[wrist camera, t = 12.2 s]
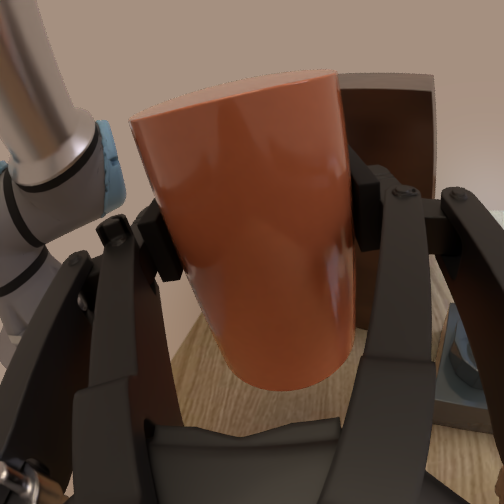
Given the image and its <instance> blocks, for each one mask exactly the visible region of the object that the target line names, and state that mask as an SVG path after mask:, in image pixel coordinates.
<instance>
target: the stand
mask: <svg viewBox="0 0 504 504" xmlns="http://www.w3.org/2000/svg"><path fill="white" fill-rule="evenodd" d="M338 78H339V84H340V90H341V97H342V103H343V110H344V118H345V125H346V133H347V142H348V144H349V146H350V147H351V148H352V149H353V150H354V151H355V152H356V154H357V155H358V156H359V157H360V158H361V159H362V161H363V162H364V163H365V164H366V165H367V166H369V165H381V166H383V167H385V168H387V169H388V170H389V171H390V172H391V174H393V176H394V177H395V178H396V179H397V180H398V181H399V182H400V183H401V184H402V185H408V186H412V187H415V188H416V189H418V190H419V191H420V193H421V198H425V199H435V184H436V159H437V130H436V102H435V87H434V76H433V75H427V74H409V73H408V74H407V73H406V74H405V73H349V74H348V73H347V74H338ZM379 252H380V249H379V250H373V251H367V252H361V250H360V248H359V245H358V243H357V241H356V238H355V260H356V322H355V327H356V328H361V329H365V330H368V327H369V322H370V316H371V310H372V304H373V297H374V291H375V284H376V276H377V269H378V260H379ZM428 255H429V254H428Z"/></svg>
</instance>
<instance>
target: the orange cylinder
mask: <svg viewBox="0 0 504 504" xmlns="http://www.w3.org/2000/svg"><path fill="white" fill-rule="evenodd" d="M128 122H129V125H130V128H131V131H132V134H133V137H134V140H135V143H136V146H137V149H138V152H139V155H140V157H141V160H142V163H143V166H144V169H145V172H146V174H147V177H148V180H149V183H150V185H151V188H152V191H153V193H154V196H155V199H156V201H157V204H158V207H159V209H160V212H161V215H162V217H163V220H164V222H165V225H166V227H167V230H168V232H169V235H170V237H171V240H172V242H173V245H174V247H175V250H176V252H177V254H178V257H179V259H180V262H181V264H182V266H183V269H184V271H185V274H186V276H187V278H188V281H189V283H190V285H191V287H192V290H193V292H194V294H195V297H196V299H197V301H198V303H199V305H200V308H201V310H202V312H203V315H204V317H205V319H206V321H207V323H208V326H209V328H210V330H211V332H212V334H213V336H214V338H215V341H216V343H217V345H218V347H219V349H220V351H221V353H222V355H223V357H224V359H225V361H226V363H227V365H228V367H229V368H230V370H231V371H232V372H233V373H234V374H235V375H236V376H237V377H238V378H240V379H241V380H242V381H244V382H246V383H248V384H250V385H252V386H254V387H257V388H260V389H265V390H270V391H292V390H298V389H303V388H306V387H309V386H312V385H314V384H317V383H319V382H321V381H322V380H324V379H326V378H328V377H329V376H330V375H332V374H333V373H334V372H335V371H336V370H337V369H338V368H339V367H340V366H341V365H342V364H343V363H344V362H345V360H346V359H347V357H348V356H349V354H350V352H351V350H352V347H353V344H354V340H355V322H356V260H355V231H354V211H353V196H352V183H351V171H350V161H349V151H348V142H347V133H346V125H345V118H344V110H343V103H342V97H341V90H340V84H339V78H338V73H337V71H335V70H326V69H317V70H301V71H290V72H283V73H275V74H269V75H262V76H257V77H251V78H246V79H241V80H237V81H233V82H228V83H224V84H220V85H216V86H212V87H208V88H205V89H201V90H198V91H194V92H191V93H188V94H185V95H182V96H179V97H176V98H173V99H170V100H168V101H165V102H162V103H160V104H157V105H155V106H152V107H150V108H148V109H145V110H143V111H141V112H139V113H137V114H135V115H133V116H132V117H130V119H129V120H128Z"/></svg>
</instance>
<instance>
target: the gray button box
mask: <svg viewBox="0 0 504 504" xmlns="http://www.w3.org/2000/svg"><path fill="white" fill-rule="evenodd" d="M435 364H436V389H435V402H434V412H433V421H432V423H434V424H439V425H443V426H449V427H454V428H459V429H465V430H471V431H477V432H483V433H490V434H493V430H492V426H491V421H490V416H489V411H488V407H487V403H486V399H485V395H484V391H483V387H482V383H481V380H480V376H479V372H478V369H477V366H476V362H475V359H474V356H473V353H472V350H471V346H470V343H469V340H468V338H467V335H466V332H465V329H464V326H463V323H462V321H461V318H460V315H459V313H458V310H457V307H456V305H455V303H450V304H449V308H448V311H447V315H446V318H445V321H444V324H443V328H442V331H441V336H440V341H439V346H438V351H437V356H436V361H435Z"/></svg>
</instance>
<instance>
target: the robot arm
mask: <svg viewBox="0 0 504 504" xmlns="http://www.w3.org/2000/svg"><path fill="white" fill-rule="evenodd" d="M0 139H1V140H2V142H3V143H4V145H5V146H6V148H7V149H8V150H9V152H10V153H11V154H10V157H9V161H8V164H7V163H6V162H5V161H0V318H1V320H2V323H3V325H4V328H5V330H6V333H7V335H8V337H9V339H10V341H11V343H14V344H15V346H16V347H17V348H16V350H15V352H14V355H13V357H12V359H11V361H10V363H9V366H8V368H7V370H6V373H5V375H4V377H3V380H2V382H1V385H0V504H470V503H468V502H467V501H466V500H464V499H463V498H461V497H460V496H459V495H457V494H456V493H455V492H453V491H452V490H451V489H449V488H448V487H447V486H445V485H444V484H443V483H441V482H440V481H439V480H437V479H436V478H435V477H433V476H432V475H431V474H429V473H428V472H427V471H426V470H425V467H426V462H427V456H428V450H429V444H430V437H431V430H432V421H433V412H434V402H435V389H436V364H435V362H432V361H431V341H432V310H431V283H430V267H429V255H428V254H435V258H436V260H437V263H438V265H439V267H440V269H441V271H442V274H443V276H444V278H445V281H446V283H447V285H448V288H449V290H450V292H451V295H452V297H453V300H454V302H455V305H456V307H457V310H458V313H459V315H460V318H461V321H462V323H463V326H464V329H465V332H466V335H467V338H468V340H469V343H470V346H471V350H472V353H473V356H474V359H475V362H476V366H477V369H478V372H479V376H480V380H481V383H482V387H483V391H484V395H485V399H486V403H487V407H488V411H489V416H490V421H491V426H492V430H493V434H494V438H495V442H496V446H497V449H498V452H499V455H500V458H501V461H502V463H503V466H502V468H501V469H500V472H499V475H498V480H497V483H496V485H495V493H496V495H497V496H498V497H499V504H504V230H503V228H502V227H501V226H500V225H499V223H498V222H497V221H496V220H495V218H494V217H493V216H492V215H491V214H490V212H489V211H488V210H487V209H486V208H485V206H484V205H483V204H482V203H481V202H480V201H479V200H478V198H477V197H476V196H475V195H474V194H473V193H472V192H470V191H468V190H466V189H465V188H460V187H449V188H446V189H443V190H442V192H441V200H438V199H437V200H436V199H425V198H421V193H420V191H419V190H418V189H416V188H415V187H412V186H408V185H402V184H401V183H400V182H399V181H398V180H397V179H396V178H395V177H394V176H393V174H391V172H390V171H389V170H388V169H387V168H385V167H383V166H381V165H369V166H367V165H366V164H365V163H364V162H363V161H362V159H361V158H360V157H359V156H358V155H357V154H356V152H355V151H354V150H353V149H352V148H351V147H350V146H349V144H348V151H349V161H350V171H351V183H352V196H353V211H354V231H355V238H356V241H357V243H358V245H359V248H360V250H361V252H367V251H373V250H379V249H380V252H379V260H378V269H377V276H376V284H375V291H374V297H373V304H372V310H371V316H370V322H369V327H368V333H367V338H366V343H365V348H364V353H363V356H361V358H360V362H359V366H358V370H357V374H356V378H355V382H354V386H353V390H352V394H351V398H350V402H349V406H348V410H347V413H346V417H345V420H344V424H343V427H342V428H341V425H340V417H336V418H329V419H322V420H314V421H306V422H297V423H290V424H287V425H284V426H280V427H277V428H274V429H271V430H267V431H264V432H260V433H257V434H253V435H250V436H246V437H235V436H230V435H226V434H222V433H218V432H213V431H210V430H206V429H202V428H198V427H184V425H183V421H182V417H181V413H180V408H179V403H178V399H177V394H176V389H175V384H174V379H173V374H172V368H171V363H170V358H169V352H168V347H167V340H166V334H165V327H164V321H163V315H162V308H161V300H160V292H159V286H158V285H157V282H156V280H155V276H156V274H157V271H158V273H159V275H160V277H161V279H162V281H163V282H168V281H176V280H180V278H181V275H182V272H183V266H182V264H181V262H180V259H179V257H178V254H177V252H176V250H175V247H174V245H173V242H172V240H171V237H170V235H169V232H168V230H167V227H166V225H165V222H164V220H163V217H162V215H161V212H160V209H159V207H158V204H157V201H156V199H155V198H154V200H153V201H152V203H151V204H150V205H149V206H148V207H146V208H145V209H144V210H143V211H141V212H140V213H139V215H138V216H137V217H136V220H134V222H133V224H132V225H131V226H130V225H129V223H128V220H127V218H126V216H125V215H124V214H119V215H115V216H112V217H110V218H108V219H106V220H105V221H103V222H102V223H100V224H99V225H98V226H97V228H96V232H97V233H98V236H99V237H100V239H101V242H102V244H103V246H104V252H103V254H102V255H100V256H97V257H95V258H92V259H91V257H90V255H89V253H88V252H87V251H85V250H82V251H79V252H75V253H73V254H71V255H70V256H69V257H68V258H67V259H66V260H65V261H64V262H63V264H61V263H60V262H58V261H57V260H56V259H55V258H54V257H53V256H52V255H51V254H50V253H49V251H48V249H47V248H46V246H45V244H46V243H49V242H51V241H53V240H55V239H57V238H59V237H61V236H63V235H64V234H67V233H69V232H71V231H73V230H75V229H77V228H79V227H82V226H84V225H86V224H88V223H90V222H92V221H95V220H97V219H99V218H103V217H104V216H105V215H106V214H107V213H109V212H111V211H113V210H115V209H117V208H119V207H120V206H121V205H122V204H123V203H124V201H125V199H126V189H125V184H124V179H123V175H122V171H121V167H120V163H119V161H118V156H117V151H116V147H115V143H114V139H113V136H112V132H111V129H110V125H109V123H108V121H106V120H101V121H100V120H97V121H96V122H95V121H94V119H93V117H92V115H91V114H90V113H89V112H88V111H87V110H85V109H82V108H77V107H74V106H73V103H72V101H71V98H70V96H69V93H68V91H67V88H66V86H65V83H64V81H63V78H62V76H61V73H60V70H59V68H58V65H57V62H56V60H55V57H54V54H53V52H52V49H51V45H50V43H49V40H48V37H47V34H46V31H45V28H44V24H43V21H42V18H41V15H40V12H39V8H38V5H37V1H36V0H0ZM83 304H84V305H85V307H84V309H83V310H82V307H83ZM72 471H73V485H74V494H73V495H72V496H71V497H70V498H69V497H68V496H66V495H64V493H65V491H66V489H67V486H68V484H69V480H70V477H71V474H72Z"/></svg>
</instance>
